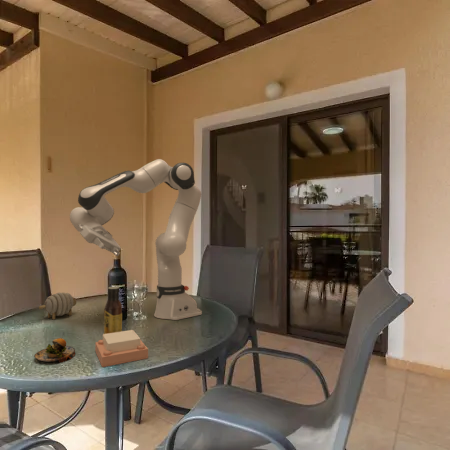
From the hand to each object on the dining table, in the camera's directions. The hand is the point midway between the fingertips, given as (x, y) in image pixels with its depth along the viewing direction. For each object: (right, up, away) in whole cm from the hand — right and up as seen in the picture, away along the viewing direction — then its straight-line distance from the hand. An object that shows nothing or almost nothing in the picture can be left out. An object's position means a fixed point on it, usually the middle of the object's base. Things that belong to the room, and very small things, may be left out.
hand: (110, 250), depth 133 cm
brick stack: (+12, -32, -25) cm, 43 cm away
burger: (-8, -33, -27) cm, 43 cm away
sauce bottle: (+5, -32, -13) cm, 35 cm away
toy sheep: (-30, -32, +18) cm, 47 cm away
